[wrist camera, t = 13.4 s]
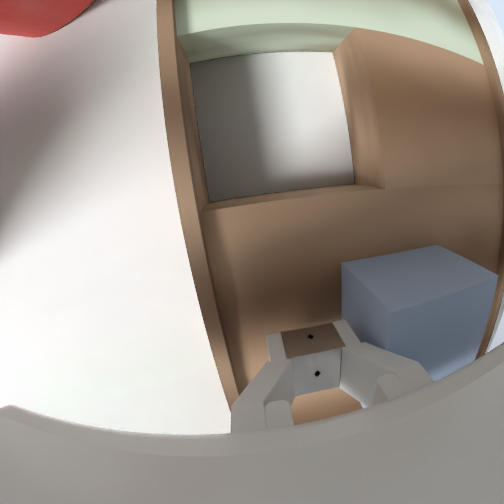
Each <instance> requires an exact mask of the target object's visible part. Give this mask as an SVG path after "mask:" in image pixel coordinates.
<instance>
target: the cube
mask: <svg viewBox="0 0 504 504" xmlns="http://www.w3.org/2000/svg"><path fill="white" fill-rule="evenodd" d="M341 274H342V319H344V320H346V321H347V323H348V324H349V326H350V327H351V329H352V330H353V332H354V333H355V335H356V336H357V338H358V339H359V341H360V342H361V343H363V342H366V343H369V344H371V345H374V346H376V347H379V348H382V349H384V350H387V351H390V352H392V353H395V354H398V355H400V356H403V357H406V358H409V359H411V360H414V361H417V362H419V363H420V364H421V366H422V367H423V368H424V369H425V371H426V372H427V373H428V374H429V376H430V377H431V378H432V379H433V381H436V380H439V379H441V378H443V377H445V376H447V375H449V374H451V373H453V372H455V371H457V370H458V369H460V368H462V367H464V366H466V365H468V364H469V363H471V362H473V361H474V360H475V358H476V355H477V352H478V350H479V347H480V344H481V341H482V338H483V335H484V332H485V328H486V325H487V322H488V318H489V315H490V311H491V307H492V303H493V299H494V295H495V290H496V285H497V280H498V275H496V274H495V273H493V272H491V271H489V270H487V269H485V268H483V267H482V266H480V265H478V264H476V263H474V262H472V261H470V260H468V259H466V258H464V257H462V256H460V255H458V254H456V253H454V252H452V251H450V250H448V249H445V248H443V247H441V246H439V245H433V246H428V247H423V248H418V249H413V250H408V251H403V252H398V253H392V254H387V255H382V256H376V257H371V258H365V259H360V260H354V261H349V262H343V263H341ZM360 403H361V402H360ZM361 406H362V408H367V406H365V405H364V404H362V403H361Z"/></svg>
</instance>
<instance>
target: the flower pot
mask: <svg viewBox="0 0 504 504" xmlns="http://www.w3.org/2000/svg"><path fill="white" fill-rule="evenodd" d="M94 1H95V0H0V34H7V35H17V36H25V37H34V38H35V37H42V36H45V35H48V34H50V33H52V32H54V31H56V30H58V29H60V28H61V27H63V26H65V25H66V24H68V23H69V22H70V21H72V20H73V19H74V18H76V17H77V16H78V15H79V14H81V13H82V12H83V11H84V10H85V9H86V8H87V7H88V6H89V5H91V4H92V3H93V2H94Z"/></svg>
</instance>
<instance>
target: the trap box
mask: <svg viewBox="0 0 504 504" xmlns="http://www.w3.org/2000/svg"><path fill="white" fill-rule="evenodd" d="M157 34H158V52H159V66H160V78H161V89H162V99H163V108H164V117H165V125H166V133H167V140H168V147H169V154H170V161H171V167H172V174H173V180H174V186H175V192H176V197H177V203H178V208H179V214H180V219H181V224H182V229H183V234H184V239H185V244H186V248H187V253H188V258H189V262H190V267H191V271H192V276H193V280H194V284H195V288H196V292H197V297H198V301H199V305H200V309H201V313H202V316H203V320H204V324H205V328H206V332H207V335H208V339H209V342H210V346H211V350H212V353H213V357H214V360H215V363H216V367H217V370H218V374H219V377H220V380H221V383H222V387H223V390H224V393H225V396H226V399H227V402H228V405H229V408H230V411H231V405H232V404H233V403H234V402H235V400H236V399H237V398H238V397H239V396H240V394H241V393H242V392H243V391H244V389H245V388H246V387H247V386H248V385H249V383H250V382H251V381H252V380H253V378H254V377H255V376H256V375H257V373H258V372H259V371H260V369H261V368H262V367H263V366H264V364H265V363H266V362H270V361H269V354H268V347H267V340H266V334H268V333H275V332H281V331H288V330H294V329H301V328H308V327H313V326H318V325H322V324H327V323H331V322H334V321H338V320H342V274H341V263H343V262H349V261H354V260H360V259H365V258H371V257H376V256H382V255H387V254H392V253H398V252H403V251H408V250H413V249H418V248H423V247H428V246H433V245H439V246H441V247H443V248H445V249H448V250H450V251H452V252H454V253H456V254H458V255H460V256H462V257H464V258H466V259H468V260H470V261H472V262H474V263H476V264H478V265H480V266H482V267H483V268H485V269H487V270H489V271H491V272H493V273H495V274H496V275H498V280H497V285H496V290H495V295H494V299H493V303H492V307H491V311H490V315H489V318H488V322H487V325H486V328H485V332H484V335H483V338H482V341H481V344H480V347H479V350H478V352H477V355H476V358H475V360H476V359H478V358H480V357H481V356H483V355H485V352H486V349H487V347H488V344H489V341H490V338H491V335H492V332H493V329H494V326H495V323H496V319H497V316H498V312H499V308H500V305H501V301H502V297H503V292H504V94H503V90H502V86H501V82H500V79H499V75H498V72H497V68H496V65H495V62H494V59H493V56H492V53H491V50H490V48H489V45H488V42H487V40H486V37H485V35H484V33H483V30H482V28H481V26H480V23H479V21H478V19H477V17H476V15H475V13H474V11H473V9H472V7H471V5H470V3H469V1H468V0H157ZM288 51H318V52H333V55H334V59H335V64H336V68H337V72H338V77H339V81H340V86H341V91H342V96H343V101H344V106H345V112H346V118H347V124H348V130H349V137H350V144H351V152H352V160H353V169H354V178H355V184H350V185H339V186H329V187H319V188H310V189H301V190H293V191H285V192H277V193H270V194H262V195H255V196H248V197H242V198H235V199H229V200H223V201H216V202H210V203H209V197H208V191H207V185H206V178H205V172H204V166H203V159H202V153H201V146H200V139H199V132H198V125H197V118H196V110H195V103H194V95H193V87H192V78H191V70H190V63H193V62H198V61H203V60H209V59H215V58H221V57H228V56H236V55H244V54H254V53H267V52H288ZM475 360H474V361H475ZM290 409H291V414H292V418H293V422H294V425H299V424H304V423H309V422H314V421H318V420H323V419H327V418H331V417H335V416H339V415H343V414H346V413H350V412H353V411H357V410H360V409H363V408H362V406H361V403H360V402H359V401H358V400H356V399H355V398H354V397H352V396H351V395H349V394H348V393H346V392H345V391H343V390H342V389H340V387H336V388H332V389H327V390H322V391H317V392H313V393H309V394H304V395H300V396H295V399H294V401H293V403H292V405H291V407H290Z"/></svg>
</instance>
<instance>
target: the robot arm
mask: <svg viewBox="0 0 504 504" xmlns="http://www.w3.org/2000/svg"><path fill="white" fill-rule="evenodd" d="M266 340H267V347H268V354H269V361H270V362H266V363H265V364H264V366H263V367H262V368H261V369H260V371H259V372H258V373H257V375H256V376H255V377H254V378H253V380H252V381H251V382H250V383H249V385H248V386H247V387H246V388H245V389H244V391H243V392H242V393H241V394H240V396H239V397H238V398H237V399H236V400H235V402H234V403H233V404H232V405H231V433H227V434H206V435H172V434H151V433H138V432H128V431H120V430H112V429H106V428H99V427H94V426H88V425H83V424H78V423H73V422H69V421H65V420H61V419H57V418H53V417H49V416H46V415H42V414H39V413H36V412H32V411H29V410H26V409H24V408H21V407H18V406H15V405H7V406H5V407H2V408H0V504H504V342H503V343H502V344H500V345H499V346H497V347H496V348H494V349H493V350H491V351H490V352H488V353H486V354H485V355H483V356H481V357H480V358H478V359H476V360H475V361H473V362H471V363H469V364H468V365H466V366H464V367H462V368H460V369H458V370H457V371H455V372H453V373H451V374H449V375H447V376H445V377H443V378H441V379H439V380H436V381H433V379H432V378H431V377H430V376H429V374H428V373H427V372H426V371H425V369H424V368H423V367H422V366H421V364H420V363H419V362H417V361H414V360H411V359H409V358H406V357H403V356H400V355H398V354H395V353H392V352H390V351H387V350H384V349H382V348H379V347H376V346H374V345H371V344H369V343H366V342H363V343H361V342H360V341H359V339H358V338H357V336H356V335H355V333H354V332H353V330H352V329H351V327H350V326H349V324H348V323H347V321H346V320H344V319H342V320H338V321H334V322H331V323H327V324H322V325H318V326H313V327H308V328H301V329H294V330H288V331H281V332H275V333H268V334H266ZM336 387H340V389H342V390H343V391H345V392H346V393H348V394H349V395H351V396H352V397H354V398H355V399H356V400H358V401H359V402H361V403H362V404H364V405H365V406H367V408H363V409H360V410H357V411H353V412H350V413H346V414H343V415H339V416H335V417H331V418H327V419H323V420H318V421H314V422H309V423H304V424H299V425H294V422H293V418H292V414H291V409H290V407H291V405H292V403H293V401H294V399H295V396H300V395H304V394H309V393H313V392H317V391H322V390H327V389H332V388H336Z"/></svg>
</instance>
